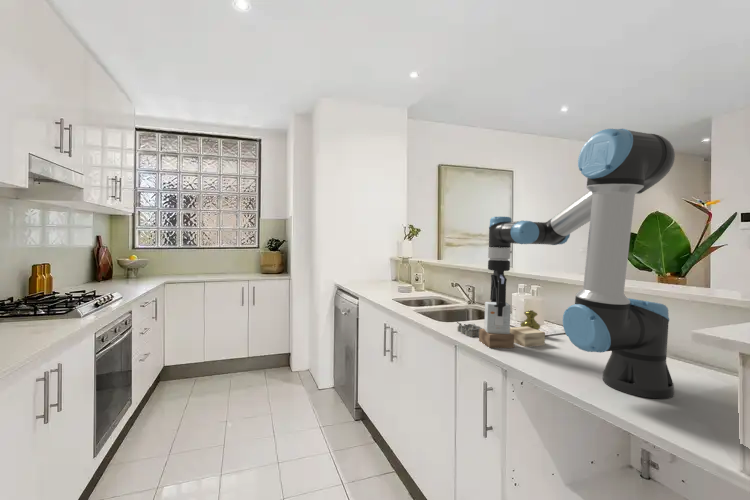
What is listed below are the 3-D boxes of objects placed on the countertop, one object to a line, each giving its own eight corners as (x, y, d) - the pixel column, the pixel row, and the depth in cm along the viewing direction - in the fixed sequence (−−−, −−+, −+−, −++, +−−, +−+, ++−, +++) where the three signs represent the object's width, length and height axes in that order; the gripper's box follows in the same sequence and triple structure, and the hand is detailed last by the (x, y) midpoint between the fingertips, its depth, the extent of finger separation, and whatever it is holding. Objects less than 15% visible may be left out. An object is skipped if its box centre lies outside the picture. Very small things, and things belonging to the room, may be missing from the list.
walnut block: (513, 348, 127) (514, 334, 127) (489, 349, 126) (489, 334, 126) (501, 341, 136) (502, 328, 136) (479, 341, 135) (479, 328, 135)
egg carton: (455, 330, 151) (455, 321, 151) (472, 330, 152) (472, 320, 152) (466, 337, 140) (466, 327, 140) (484, 337, 141) (484, 326, 141)
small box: (506, 330, 133) (507, 302, 133) (509, 334, 127) (511, 305, 127) (483, 329, 134) (484, 301, 134) (486, 333, 128) (487, 303, 128)
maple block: (544, 345, 132) (545, 332, 132) (524, 347, 129) (525, 333, 128) (526, 339, 140) (526, 326, 140) (507, 340, 137) (508, 327, 137)
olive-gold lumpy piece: (517, 332, 150) (518, 308, 149) (535, 332, 150) (536, 308, 149) (524, 337, 142) (525, 312, 142) (543, 337, 142) (544, 312, 142)
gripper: (517, 261, 120) (514, 329, 121) (503, 258, 139) (501, 317, 140) (494, 260, 121) (491, 328, 122) (483, 257, 140) (481, 316, 141)
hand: (496, 322), depth 131 cm, fingers open, 6 cm apart
